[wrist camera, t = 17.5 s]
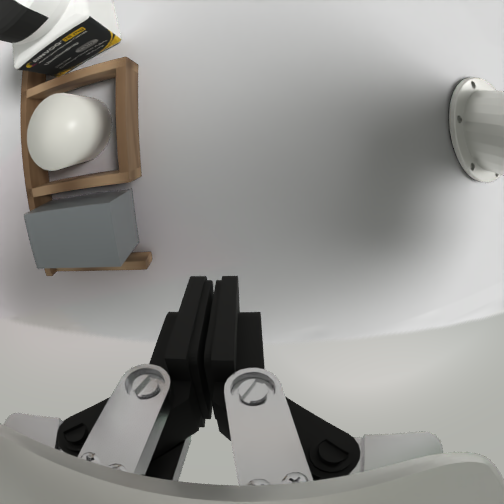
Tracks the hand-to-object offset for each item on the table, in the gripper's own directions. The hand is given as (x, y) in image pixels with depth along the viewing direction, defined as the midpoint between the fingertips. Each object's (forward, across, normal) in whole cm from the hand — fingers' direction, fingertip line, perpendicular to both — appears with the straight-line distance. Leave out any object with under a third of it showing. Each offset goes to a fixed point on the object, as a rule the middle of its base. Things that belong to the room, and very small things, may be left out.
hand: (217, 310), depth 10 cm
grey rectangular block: (+14, +13, +1) cm, 19 cm away
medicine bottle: (+15, +14, -18) cm, 27 cm away
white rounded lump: (+14, +13, -8) cm, 21 cm away
